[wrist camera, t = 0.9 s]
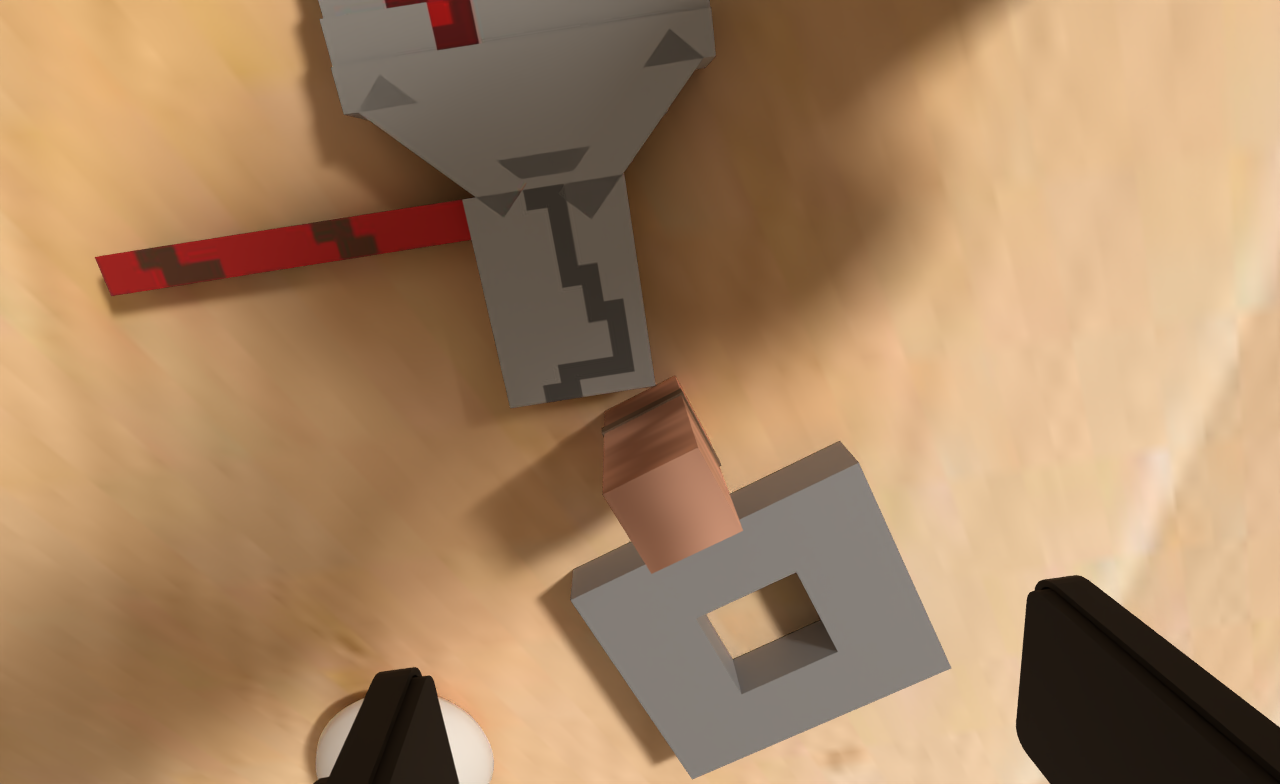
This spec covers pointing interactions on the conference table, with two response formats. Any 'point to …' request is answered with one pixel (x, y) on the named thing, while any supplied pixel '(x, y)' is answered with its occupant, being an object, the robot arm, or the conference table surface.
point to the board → (790, 666)
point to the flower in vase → (461, 730)
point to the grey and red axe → (498, 169)
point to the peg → (665, 477)
